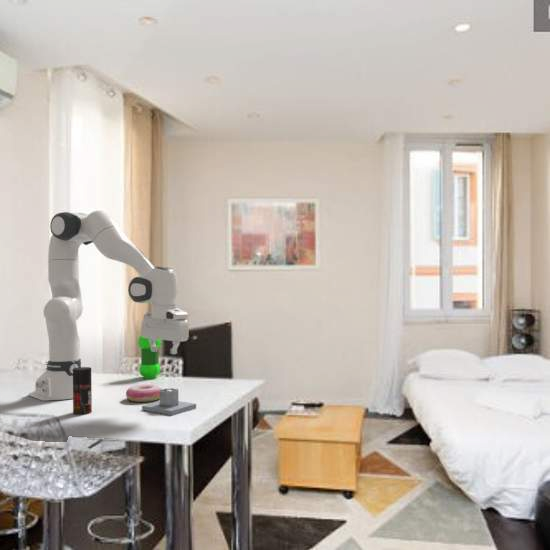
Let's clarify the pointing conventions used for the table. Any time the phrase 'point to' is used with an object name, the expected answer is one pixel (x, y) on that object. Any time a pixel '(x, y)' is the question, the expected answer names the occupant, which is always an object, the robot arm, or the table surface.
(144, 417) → the table surface
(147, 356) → the plastic bottle
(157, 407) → the shaft block
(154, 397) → the donut
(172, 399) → the ring
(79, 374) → the deodorant
